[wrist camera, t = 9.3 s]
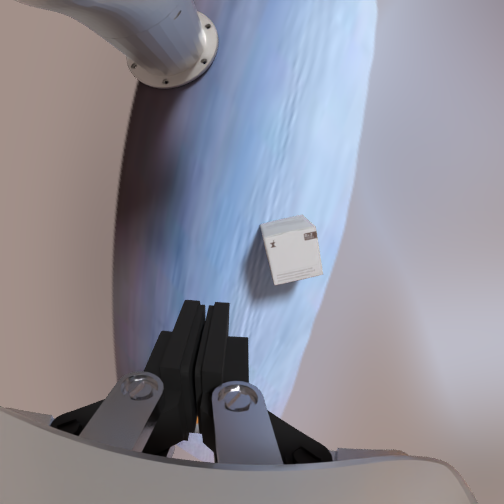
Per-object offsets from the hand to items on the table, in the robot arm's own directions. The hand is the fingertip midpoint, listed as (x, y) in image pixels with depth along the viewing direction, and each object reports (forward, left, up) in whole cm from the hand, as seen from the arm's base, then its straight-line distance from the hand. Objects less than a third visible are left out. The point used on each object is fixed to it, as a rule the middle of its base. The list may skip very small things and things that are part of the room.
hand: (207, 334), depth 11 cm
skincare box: (+4, +7, -29) cm, 30 cm away
